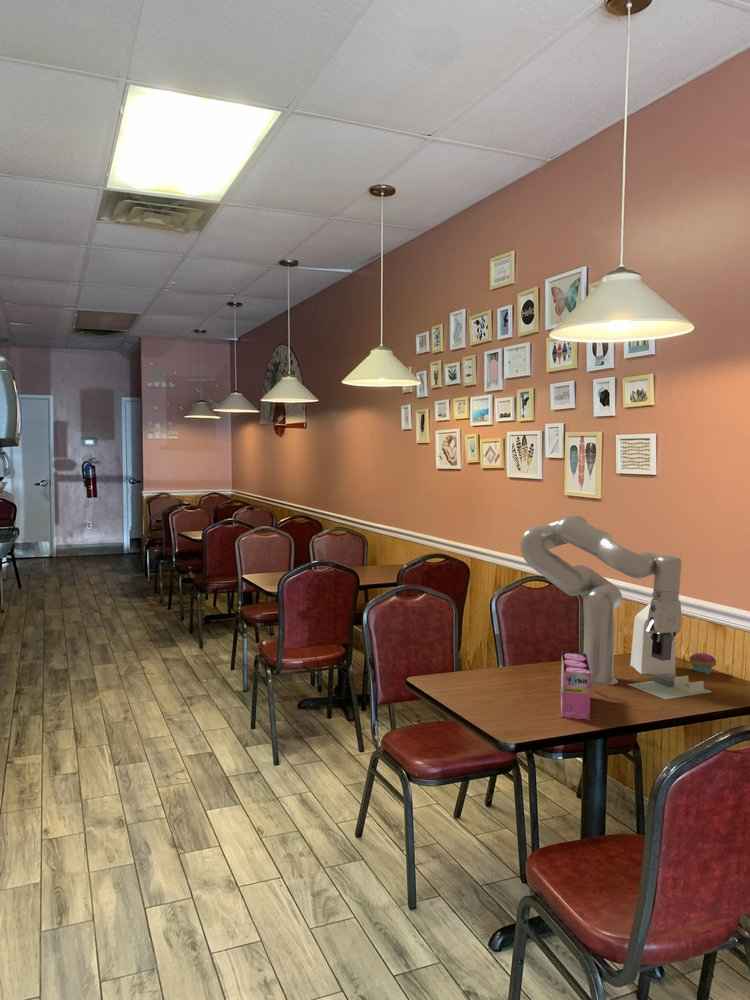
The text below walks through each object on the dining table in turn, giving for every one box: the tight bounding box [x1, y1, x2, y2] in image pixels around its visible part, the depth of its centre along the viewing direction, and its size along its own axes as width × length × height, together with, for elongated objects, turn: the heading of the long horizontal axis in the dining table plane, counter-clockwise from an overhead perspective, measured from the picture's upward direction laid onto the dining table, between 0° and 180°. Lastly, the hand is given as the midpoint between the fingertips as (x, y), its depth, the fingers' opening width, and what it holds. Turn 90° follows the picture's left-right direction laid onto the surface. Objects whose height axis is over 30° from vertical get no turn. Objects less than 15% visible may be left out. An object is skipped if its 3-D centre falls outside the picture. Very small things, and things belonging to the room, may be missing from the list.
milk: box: [629, 596, 676, 675], centre depth 256 cm, size 12×12×26 cm
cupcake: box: [689, 639, 717, 675], centre depth 257 cm, size 9×8×12 cm
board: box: [627, 680, 713, 700], centre depth 236 cm, size 20×16×1 cm
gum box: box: [560, 651, 592, 721], centre depth 220 cm, size 24×8×14 cm, turn 167°
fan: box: [652, 673, 680, 687], centre depth 241 cm, size 7×7×2 cm
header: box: [674, 675, 705, 693], centre depth 235 cm, size 6×7×3 cm
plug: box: [651, 633, 673, 661], centre depth 233 cm, size 4×5×8 cm
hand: (661, 652), depth 233 cm, fingers closed on plug, 3 cm apart
